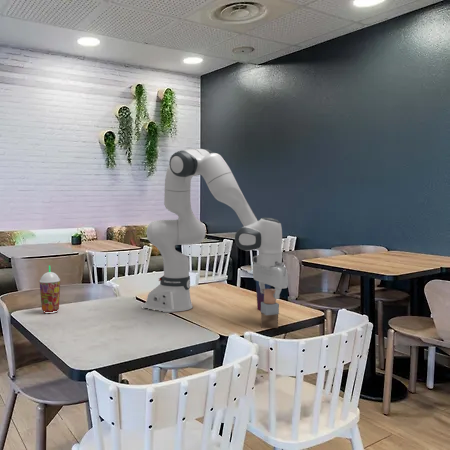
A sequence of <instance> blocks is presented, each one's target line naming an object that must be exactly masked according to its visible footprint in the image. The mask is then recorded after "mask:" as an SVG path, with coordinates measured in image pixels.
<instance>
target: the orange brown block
mask: <svg viewBox="0 0 450 450" xmlns="http://www.w3.org/2000/svg"><path fill="white" fill-rule="evenodd" d="M275 291H276V290H275V288H270V289H264V303H266V304H275V303H277V299H275V298H274V297H273V296H274V295H273V294H274V293H275Z"/></svg>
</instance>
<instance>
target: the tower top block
mask: <svg viewBox="0 0 450 450" xmlns="http://www.w3.org/2000/svg"><path fill="white" fill-rule="evenodd" d="M261 312H262V313H263V314H265V315H276V314H278V315H280V304H279V303H278V302H276V303H275V304H266V303H264V302H261V311H260V313H261Z"/></svg>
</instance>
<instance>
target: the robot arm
mask: <svg viewBox="0 0 450 450" xmlns="http://www.w3.org/2000/svg"><path fill="white" fill-rule="evenodd" d="M168 163H169V165H168V166H167V168H166V173H165V179H164V195H163V196H164V197H163V199H164V201H163V202H164V203H163V204H164V207H165V209H166V210H167V211H169V212H170V213H172V214H174V215H177V216H178V217H177V218H178V219H160V220H155V221H151V222H150V223H149V224H148V226H147V228H146V237H147V240H148V242H149V243H150V244H152V245H153V247H154V246H155V248H157V250H158V251H159V253H160V255H161V257H162V263H163V276H161V277H159V278H158V282H160V284H158V285H157V286H156V287H155V288H153V289H152V290H150V292H149V293H148V295H147V297H146V302H143V303H142V304H141V308H142V307H143V308H148V309H147V310H149V309H155V310H159V311H158V312H161V311H163V312H162V313H169V314H170V313H174V312H183V311H189V310H191V309H192V308H193V307H194V306H193V303H192V299H191V293H190V291H191V289H190V288H191V277H190V276H191V275H190V259H189V257H188V256H187V255H186V254H184V253H182V252H181V251H179V250H176V246H180V245H181V246H184V245H185V246H187V245H195V244H200V243H202V242H203V241H204V239H205V238H206V234H207V233H206V227H205V225H204V223H203V222H202V221H201V220H199V219H198V218H197V217H196V215H195V214H194V212H193V209H192V205H191V204H192V203H191V181H192V178H193V177H197V176H202V178H203V180H204V181H205V183H206V185H207V187H208V189H209V191H210V193H211V195H212V196H213V197H214V199H215V200H217V201H218V202H220V203H222V204H225V205H227V206H228V207H230V208H231V209H232V210H233V211H234V212H235V214H236V215H237V217H238V219H239V221H240V222H241V224H242V225H243V226H242V227H240V228H239V229H238V230H237V231H236V232H235V234H234V242H235V245H236V246H237V247H238V249H240V250H242V251H244V252H245V251H246V252H248V251H255V250H258V255H254V256H253V257H252V258H251V259H252V263H253V264H252V276H253V280H254V281H255V282H256V281H259V286H260V289H261V293H262V294H264V289H265V285H264V284H268V285H271V287H274V289H275V290H276V291H275V293H274V294H273V295H274V296H273V297H274V298H275V299H276V300H279V299H280V294H281V292H282V289H287V288H288V287H289V275H288V270H287V267H286V266H285V263H283V262H282V261H283V250H282V244H283V229H282V228H283V227H282V223H281V222H280V221H279V219H276V218H272V217H262V218H260V219H258V217H257V215H256V214H255V213H254V211H253V209H252V207H251V205H250V203H249V202H248V201H247V199H246V197H245V196H244V194H243V192H242V190H241V188H240V186H239V183H238V182H237V180H236V177H235V176H234V174H233V172H232V170H231V168H230V166H229V165H228V163H227V162H226V161H225V160H224V158H223V156H222V155H221V154H219V153H216V152H213V151H212V150H210V149H208V148H203V147H202V148H189V149H185V150H177V151H176V152H174V153H173V154H172V155H171V156H170V158H169V161H168ZM143 308H142V309H143ZM155 310H154V311H155Z"/></svg>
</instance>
